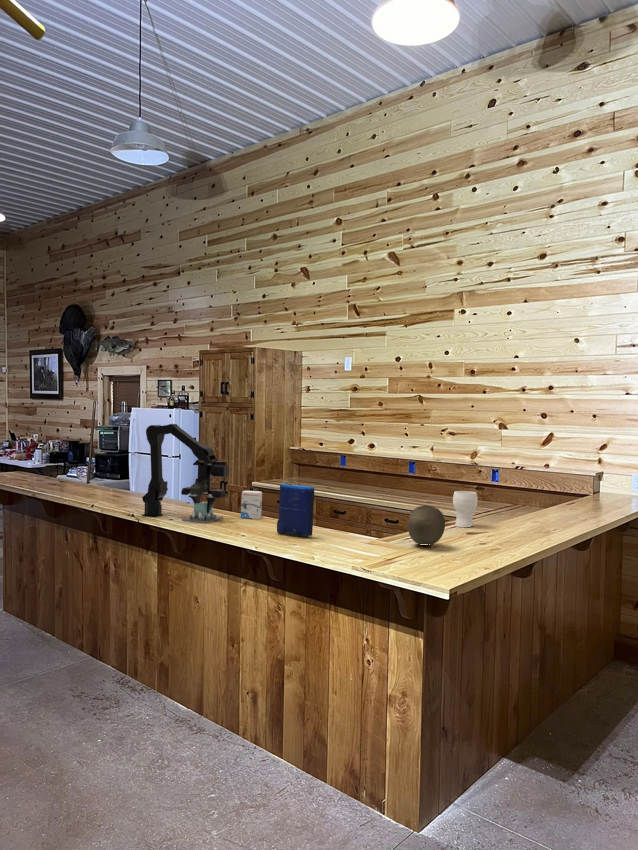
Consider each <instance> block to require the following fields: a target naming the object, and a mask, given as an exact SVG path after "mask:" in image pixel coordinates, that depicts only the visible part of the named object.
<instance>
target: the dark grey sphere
mask: <svg viewBox="0 0 638 850" xmlns="http://www.w3.org/2000/svg"><path fill="white" fill-rule="evenodd" d="M445 528H446V520H445V517H444V514H443V513H442V511H441V510H440V509H439V508H437V507H435V506H433V505H427V504H426V505H420V506H417V507H416V508H414V509H412V511H411V512H410V515H409V518H408V521H407V531H408V534H409V537H410V538H411V540H412V541H413V542H414V543H416V544H417V543H418V544H428V545H429V544H432V545H434V544H436V543H437V542H439V541H440V540H441V538H442V537H443V535H444V533H445V530H446V529H445ZM418 544H417V545H418ZM429 546H430V545H429Z"/></svg>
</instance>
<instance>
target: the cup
mask: <svg viewBox="0 0 638 850" xmlns="http://www.w3.org/2000/svg"><path fill="white" fill-rule="evenodd" d="M478 499H479V498H478V493H477V492H476V491H471V490H470V491H469V490H455V491H454V493H453V496H452V503H453V508H454V510H455V512H456V515H455V516H456V519H455V522H454V523H455V524H454V526H455V527H458V528H463V527H471V526H473V527H474V522H473V519H474V518H473V516H474V513H475V511H476V509H477V506H478ZM471 528H472V527H471Z"/></svg>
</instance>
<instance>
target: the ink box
mask: <svg viewBox="0 0 638 850" xmlns="http://www.w3.org/2000/svg"><path fill="white" fill-rule="evenodd" d="M240 500H241V501H240V504H241V506H240V519H250V518H252V519H251V520H260V519H261V518H262V506H263V505H262V503H263V492H262V491H259V490H242V492H241V499H240ZM245 515H246V516H245Z"/></svg>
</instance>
